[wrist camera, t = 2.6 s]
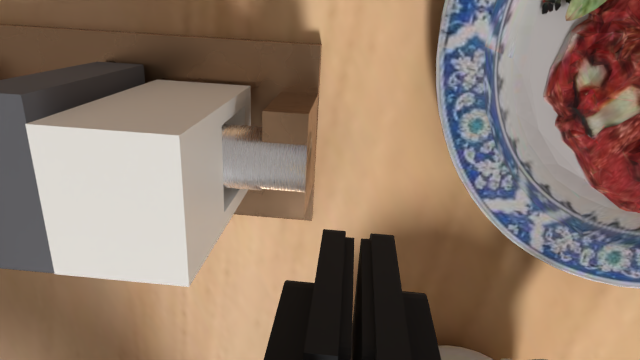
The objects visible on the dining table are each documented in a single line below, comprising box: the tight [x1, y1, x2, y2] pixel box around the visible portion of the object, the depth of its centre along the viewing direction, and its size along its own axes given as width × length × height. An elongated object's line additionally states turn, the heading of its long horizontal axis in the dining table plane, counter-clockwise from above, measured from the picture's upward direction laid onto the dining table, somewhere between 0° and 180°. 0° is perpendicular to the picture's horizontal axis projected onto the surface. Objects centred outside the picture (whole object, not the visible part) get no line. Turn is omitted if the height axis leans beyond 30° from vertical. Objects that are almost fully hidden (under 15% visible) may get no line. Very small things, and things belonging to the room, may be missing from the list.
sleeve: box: [25, 80, 251, 287], centre depth 19 cm, size 6×5×10 cm
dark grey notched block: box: [0, 62, 145, 273], centre depth 20 cm, size 7×2×9 cm, turn 177°
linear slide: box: [0, 24, 322, 221], centre depth 22 cm, size 23×10×6 cm, turn 87°
